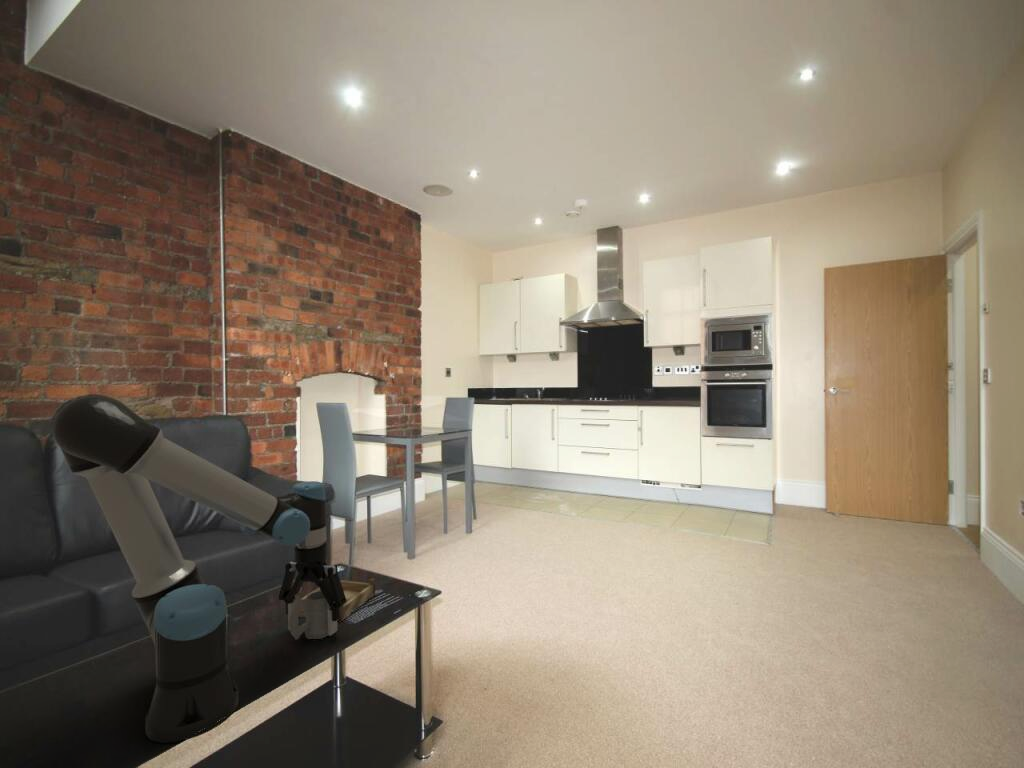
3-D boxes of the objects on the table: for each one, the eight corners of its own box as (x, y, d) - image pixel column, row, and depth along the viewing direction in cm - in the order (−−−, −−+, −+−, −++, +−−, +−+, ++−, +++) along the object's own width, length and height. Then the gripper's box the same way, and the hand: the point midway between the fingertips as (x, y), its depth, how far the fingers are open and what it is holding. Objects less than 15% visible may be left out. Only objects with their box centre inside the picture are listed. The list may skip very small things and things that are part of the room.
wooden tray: (340, 622, 132) (340, 603, 132) (293, 616, 136) (293, 598, 136) (375, 595, 148) (374, 578, 148) (332, 590, 152) (332, 574, 152)
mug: (342, 631, 127) (341, 585, 127) (298, 651, 118) (297, 601, 118) (326, 622, 132) (324, 578, 132) (282, 641, 123) (281, 593, 122)
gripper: (359, 542, 125) (362, 628, 125) (282, 536, 131) (284, 617, 132) (341, 552, 118) (344, 643, 118) (261, 545, 124) (263, 631, 124)
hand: (312, 630), depth 125 cm, fingers open, 11 cm apart
